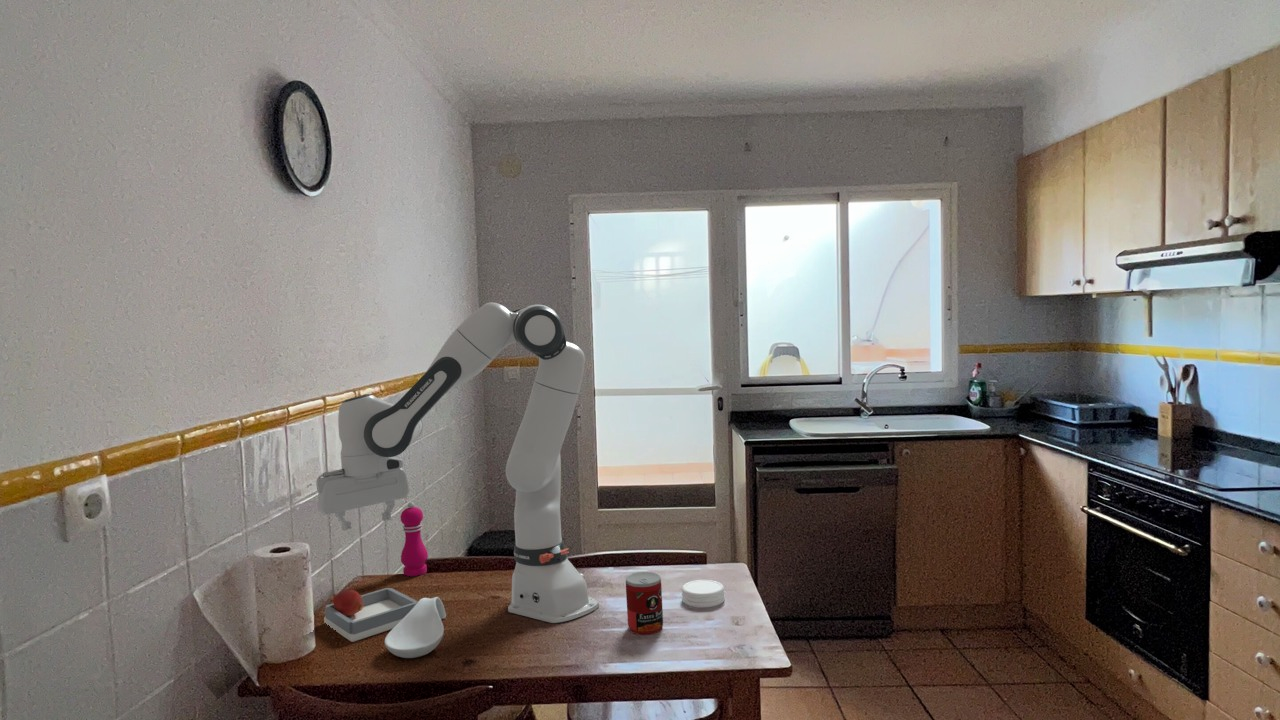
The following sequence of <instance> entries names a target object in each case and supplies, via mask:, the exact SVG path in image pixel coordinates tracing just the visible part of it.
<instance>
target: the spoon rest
mask: <svg viewBox="0 0 1280 720" xmlns="http://www.w3.org/2000/svg"><path fill="white" fill-rule="evenodd" d="M417 601H418V603H417V604H416V605H415V606H414V607H413V608H412V610H411V611H410V612H409V613H408V614H407V615H406V616H405V617H404V618H403V619H402V620H401V621H400V622H399V623H398V624H397V625H396V626H395V627H394V628H393V629H390V630H389V632H388V633H387V634H386V636H385V638H384V642H383V643H384V646H385V648H386V649H387V650H388V651H389V652H390V653H391V654H392V655H394V656H396V657H400V658H403V659H414V658H415V659H416V658H420V657H423V656H425V655H427V654H428V655H429V653H431V652H432V651H433V650H435V649H436V648H437V647H438V645H440V643H441V641H442V639H443V637H444V632H445V628H444V624H443V621H442V620H444V619H446V618H447V614H446V609H445V606H444V603H443V601H442V600H441V599H440V597H438V596H434V597H432V598H429V597H423V598H420V599H419V600H417Z"/></svg>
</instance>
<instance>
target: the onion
mask: <svg viewBox="0 0 1280 720" xmlns="http://www.w3.org/2000/svg"><path fill="white" fill-rule="evenodd" d="M329 600H330V602H333V603H332V604H334V608H335V610H336V611H338V612H340V613H341V614H343V615H344V616H347V617H348V616H352V615H354V614H356V613H357V612H359V611H361V610H362V609H363V601H362V597H361V594H360V593H359V592H358V591H356V590H354V589H346V590H342V591H340V592H339V593H338V594H336V595H333V596H331V597H330V599H329Z"/></svg>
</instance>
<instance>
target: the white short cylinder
mask: <svg viewBox="0 0 1280 720" xmlns="http://www.w3.org/2000/svg"><path fill="white" fill-rule="evenodd" d="M681 596H682V597H681V600H682V603H684V605H686V606H689V607H692V608H698V609H699V608H700V609H701V608H702V609H703V608H705V609H707V608H714V607H717V606H719V605H721V604H723V603H724V602H725V598H726V597H725V587H724V585H723V584H722V583H721V582H719V581H715V580H711V579H696V580H690V581H688V582H686V583H684V584H683V585H682V586H681Z"/></svg>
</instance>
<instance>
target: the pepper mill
mask: <svg viewBox="0 0 1280 720" xmlns="http://www.w3.org/2000/svg"><path fill="white" fill-rule="evenodd" d="M407 506H408V507H407V508H404V509H403V511H402V512H401V514H400V522H401V523H402V524H403V526H402V528H403V530H402V531H403V532H404V534H405V537H404V538H405V542H404V545H403V548H402V551H401V555H400V562H401V564H402V565H403V566H404V567H403V569H402V570H403V572H402V573H403V575H404V576H405V575H407V576H406V577H409V576H410V577H419V576H422V575H425V574H426V573H427V571H428V566H427V564H426V562H427V561H428V559H429V555H428V554H429V553H428V550H427V548H426V545H424V542H423V539H422V535H421V530H422V529H423V527H422V526H423V524H422V521H423V519H424V513H423V511H422V510H421V508H419V507H416V506H415V503H414V502H413V501H409V502H408V504H407ZM418 575H419V576H418Z"/></svg>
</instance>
